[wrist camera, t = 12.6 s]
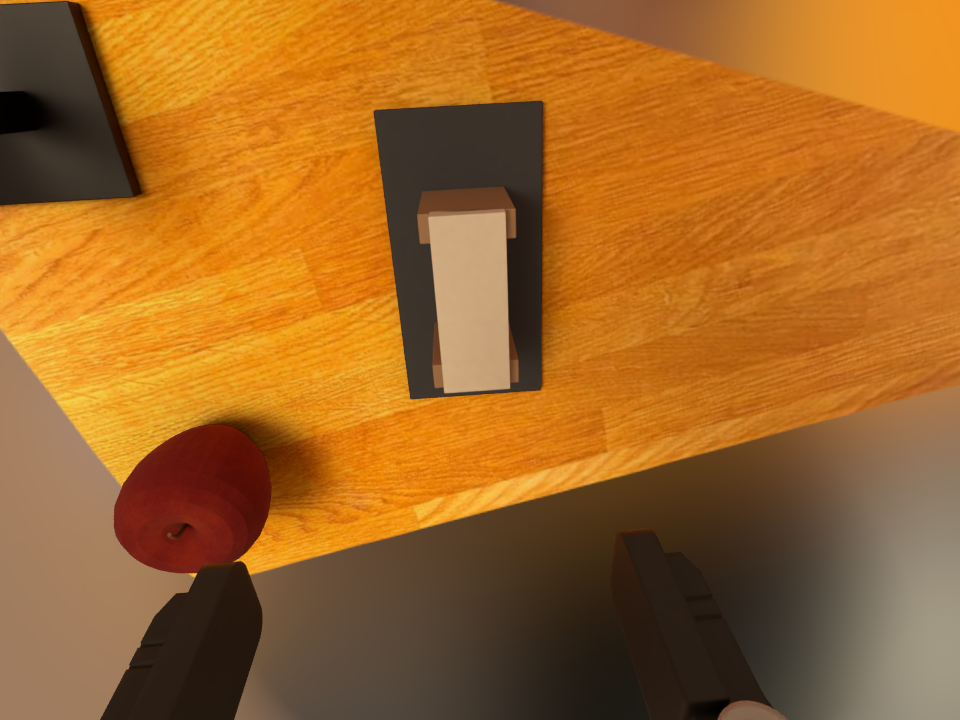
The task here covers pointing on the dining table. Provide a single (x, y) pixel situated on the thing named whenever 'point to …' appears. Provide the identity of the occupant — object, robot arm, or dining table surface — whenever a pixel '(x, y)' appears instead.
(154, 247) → the dining table surface
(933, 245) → the dining table surface
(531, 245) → the mat
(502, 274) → the beige wooden bench
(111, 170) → the stand
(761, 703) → the robot arm
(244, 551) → the apple
